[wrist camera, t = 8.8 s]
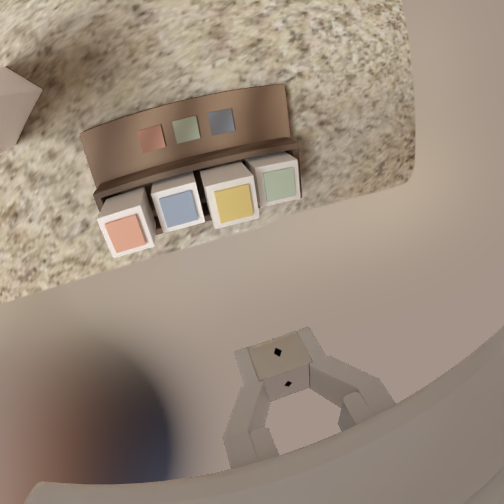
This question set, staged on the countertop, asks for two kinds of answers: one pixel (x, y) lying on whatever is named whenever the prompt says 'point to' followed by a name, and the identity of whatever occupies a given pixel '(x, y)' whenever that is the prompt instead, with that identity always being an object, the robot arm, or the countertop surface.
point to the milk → (14, 106)
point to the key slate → (177, 202)
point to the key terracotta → (127, 223)
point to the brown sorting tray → (187, 141)
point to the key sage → (274, 178)
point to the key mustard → (230, 194)
